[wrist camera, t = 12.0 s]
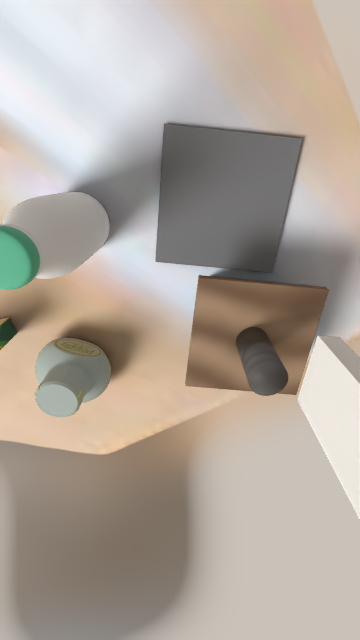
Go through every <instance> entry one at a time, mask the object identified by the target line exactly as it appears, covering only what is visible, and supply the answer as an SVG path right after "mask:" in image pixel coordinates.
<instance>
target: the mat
mask: <svg viewBox="0 0 360 640" xmlns="http://www.w3.org/2000/svg"><path fill="white" fill-rule="evenodd" d="M301 142H302V139H301V138H292V137H283V136H274V135H265V134H256V133H246V132H237V131H228V130H219V129H210V128H201V127H192V126H182V125H173V124H164V134H163V150H162V167H161V183H160V199H159V215H158V231H157V247H156V262H164V263H174V264H185V265H196V266H207V267H217V268H228V269H239V270H249V271H260V272H271V273H272V271H273V267H274V263H275V258H276V254H277V249H278V245H279V240H280V236H281V231H282V227H283V222H284V218H285V213H286V209H287V205H288V200H289V196H290V191H291V187H292V182H293V178H294V173H295V169H296V164H297V160H298V156H299V151H300V147H301Z"/></svg>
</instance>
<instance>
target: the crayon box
mask: <svg viewBox="0 0 360 640" xmlns="http://www.w3.org/2000/svg"><path fill="white" fill-rule="evenodd" d="M16 334H17V331H16V329H15V327H14V325H13V323H12V322H11V320H10V318H9V317H7V318H3V319H0V350H1V349H2V348H3V347H4V346H5V345H6V344H7V343H8V342H9V341H10V340H11V339H12V338H13V337H14V336H15V335H16Z"/></svg>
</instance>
